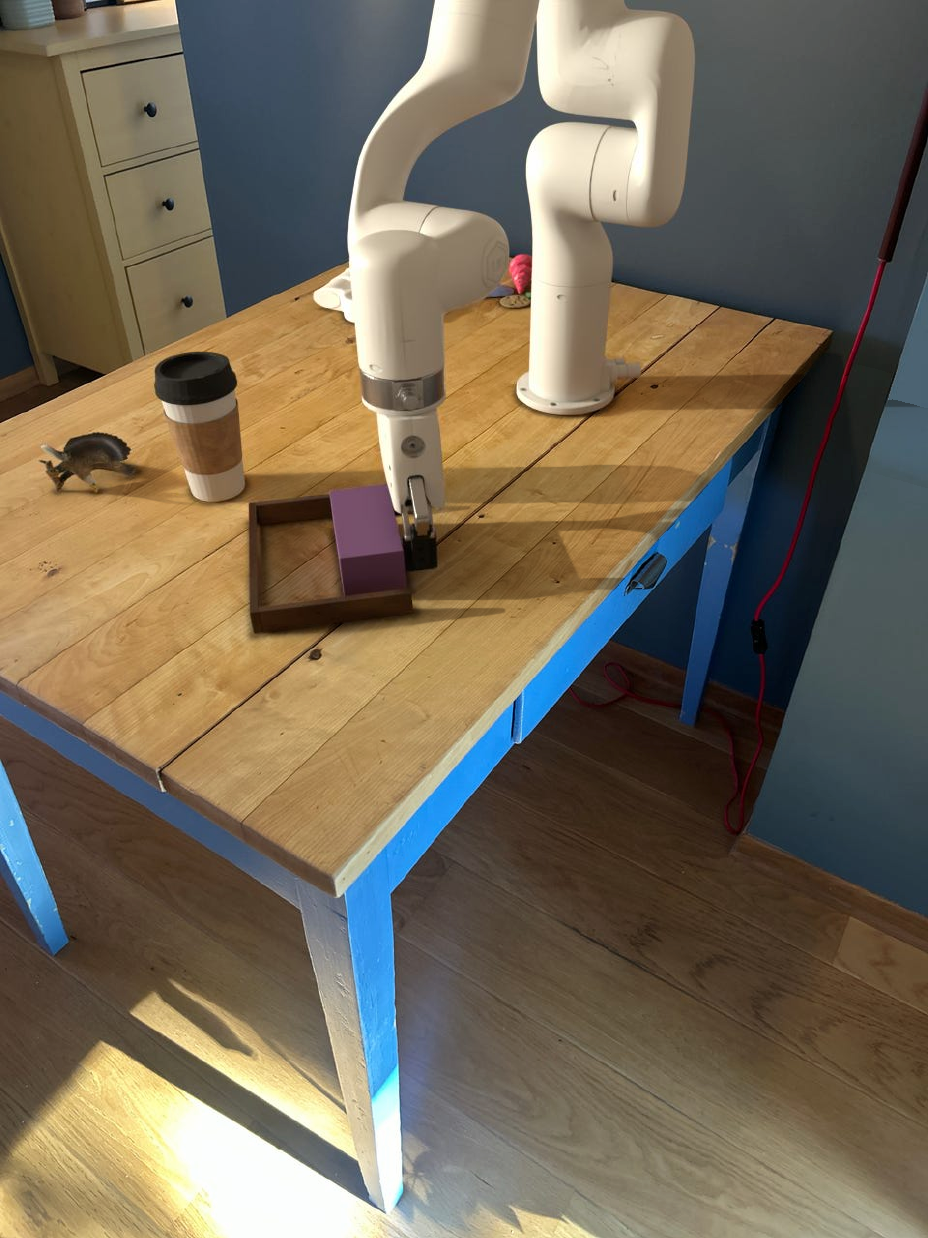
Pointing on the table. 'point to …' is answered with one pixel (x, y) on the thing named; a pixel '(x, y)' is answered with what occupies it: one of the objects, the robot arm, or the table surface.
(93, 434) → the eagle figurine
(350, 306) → the white paint palette
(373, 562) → the plum block
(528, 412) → the table surface
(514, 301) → the toy pieces
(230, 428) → the coffee cup
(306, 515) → the walnut bay
